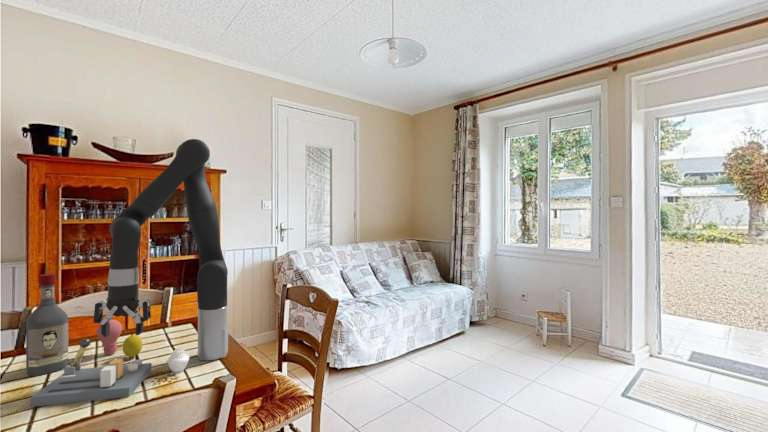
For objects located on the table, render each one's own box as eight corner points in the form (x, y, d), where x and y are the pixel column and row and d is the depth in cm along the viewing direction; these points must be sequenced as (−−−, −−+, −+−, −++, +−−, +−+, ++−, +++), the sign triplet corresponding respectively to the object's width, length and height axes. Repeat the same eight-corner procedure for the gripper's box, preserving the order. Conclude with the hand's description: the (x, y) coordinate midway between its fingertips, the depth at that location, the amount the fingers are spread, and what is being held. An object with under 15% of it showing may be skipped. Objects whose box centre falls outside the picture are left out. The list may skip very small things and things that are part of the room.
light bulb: (91, 356, 122) (91, 321, 122) (114, 348, 128) (114, 316, 128) (104, 359, 119) (104, 324, 119) (126, 352, 126) (126, 318, 126)
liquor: (25, 369, 111) (25, 274, 111) (64, 360, 118) (64, 271, 118) (28, 378, 105) (28, 278, 105) (69, 368, 112) (69, 274, 112)
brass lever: (81, 367, 106) (93, 338, 107) (76, 371, 104) (89, 341, 104) (72, 365, 106) (84, 336, 106) (66, 369, 103) (79, 339, 104)
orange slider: (123, 374, 103) (123, 358, 103) (118, 378, 100) (118, 362, 100) (113, 374, 103) (113, 359, 102) (108, 379, 100) (108, 363, 100)
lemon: (132, 361, 118) (132, 337, 118) (118, 360, 119) (118, 336, 119) (146, 355, 123) (146, 332, 123) (133, 353, 125) (133, 331, 124)
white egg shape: (168, 368, 114) (168, 346, 114) (190, 364, 116) (190, 343, 116) (165, 376, 108) (165, 353, 108) (188, 372, 111) (188, 350, 111)
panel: (151, 370, 112) (151, 356, 112) (129, 396, 96) (129, 380, 96) (68, 378, 106) (68, 363, 106) (30, 406, 91) (30, 389, 91)
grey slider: (115, 381, 99) (115, 365, 99) (110, 386, 96) (110, 369, 96) (105, 382, 98) (105, 366, 98) (100, 387, 95) (100, 370, 95)
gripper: (154, 279, 113) (153, 330, 113) (103, 280, 110) (101, 332, 110) (145, 284, 106) (143, 338, 106) (89, 285, 102) (88, 341, 102)
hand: (122, 335), depth 108 cm, fingers open, 8 cm apart
